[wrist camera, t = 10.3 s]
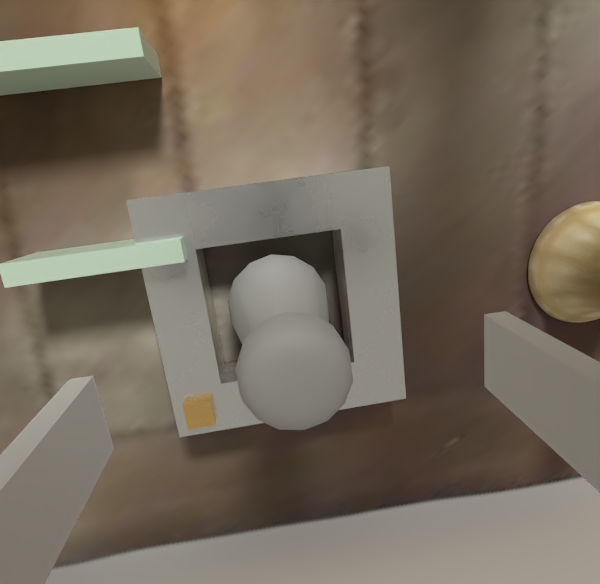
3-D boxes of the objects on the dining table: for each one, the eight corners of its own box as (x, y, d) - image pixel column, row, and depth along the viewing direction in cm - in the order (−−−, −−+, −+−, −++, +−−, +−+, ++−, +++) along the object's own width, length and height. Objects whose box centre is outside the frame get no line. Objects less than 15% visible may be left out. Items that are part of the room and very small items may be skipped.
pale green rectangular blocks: (-15, 72, 23) (-70, 48, 19) (157, 53, 23) (137, 27, 19) (42, 272, 25) (4, 287, 21) (194, 250, 26) (184, 262, 22)
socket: (140, 198, 25) (123, 200, 22) (374, 168, 26) (392, 165, 23) (187, 411, 28) (178, 442, 25) (391, 377, 29) (408, 402, 26)
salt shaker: (278, 353, 28) (298, 489, 16) (211, 297, 27) (175, 397, 14) (339, 289, 28) (412, 378, 15) (274, 228, 26) (295, 270, 14)
